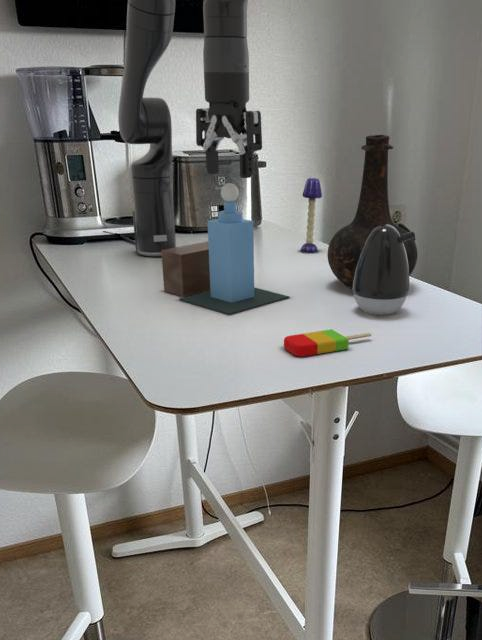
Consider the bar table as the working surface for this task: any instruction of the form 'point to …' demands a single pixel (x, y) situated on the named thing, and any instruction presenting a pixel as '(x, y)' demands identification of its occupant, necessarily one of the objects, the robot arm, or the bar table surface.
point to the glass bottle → (367, 214)
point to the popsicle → (318, 342)
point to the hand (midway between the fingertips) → (229, 175)
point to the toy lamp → (311, 212)
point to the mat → (230, 308)
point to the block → (186, 269)
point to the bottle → (231, 251)
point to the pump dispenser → (382, 271)
